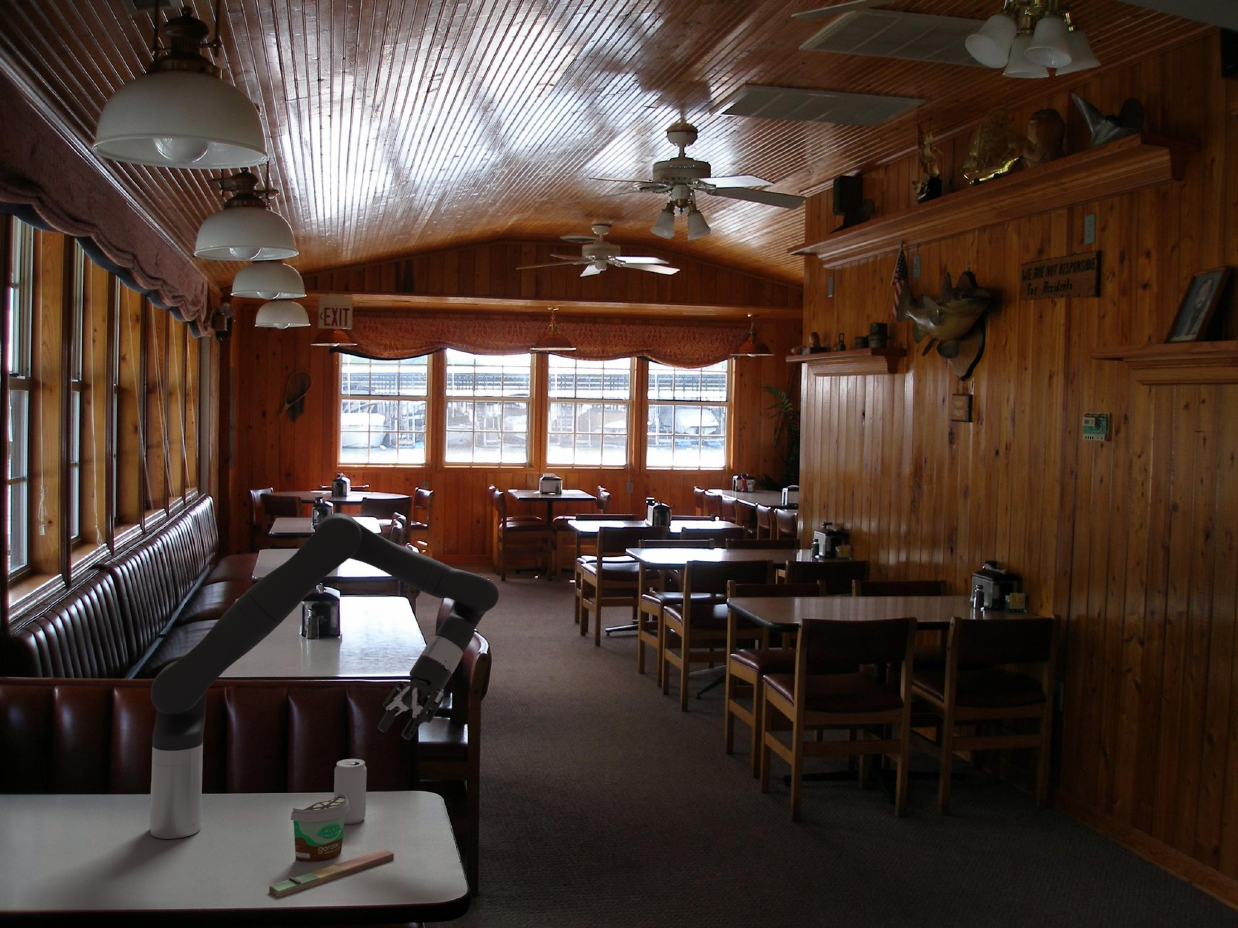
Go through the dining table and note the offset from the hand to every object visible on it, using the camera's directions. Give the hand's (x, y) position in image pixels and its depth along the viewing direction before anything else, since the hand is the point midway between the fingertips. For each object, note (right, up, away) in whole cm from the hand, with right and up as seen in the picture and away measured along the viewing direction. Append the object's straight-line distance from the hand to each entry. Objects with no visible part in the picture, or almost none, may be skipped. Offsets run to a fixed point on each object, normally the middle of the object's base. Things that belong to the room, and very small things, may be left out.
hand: (392, 734), depth 209 cm
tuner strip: (-7, -21, -17) cm, 28 cm away
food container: (-11, -21, -9) cm, 25 cm away
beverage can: (-11, -21, +10) cm, 26 cm away
